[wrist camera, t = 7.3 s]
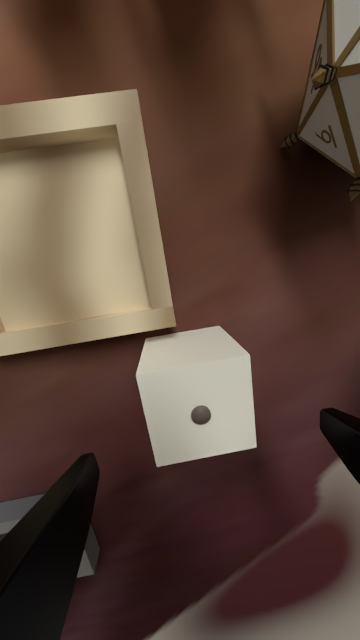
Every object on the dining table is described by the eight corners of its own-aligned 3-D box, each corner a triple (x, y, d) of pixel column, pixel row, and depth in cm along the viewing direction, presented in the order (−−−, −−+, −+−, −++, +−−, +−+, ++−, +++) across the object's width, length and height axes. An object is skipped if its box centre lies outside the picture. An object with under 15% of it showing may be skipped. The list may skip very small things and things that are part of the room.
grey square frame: (77, 487, 16) (68, 509, 14) (100, 548, 17) (94, 573, 16) (-15, 505, 15) (-33, 529, 14) (17, 566, 17) (3, 593, 15)
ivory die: (219, 325, 14) (251, 356, 9) (225, 389, 15) (258, 449, 10) (143, 338, 13) (131, 377, 8) (157, 402, 14) (153, 470, 10)
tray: (140, 114, 10) (136, 88, 9) (174, 320, 13) (176, 326, 12) (-82, 143, 10) (-125, 120, 8) (0, 349, 13) (-21, 359, 11)
